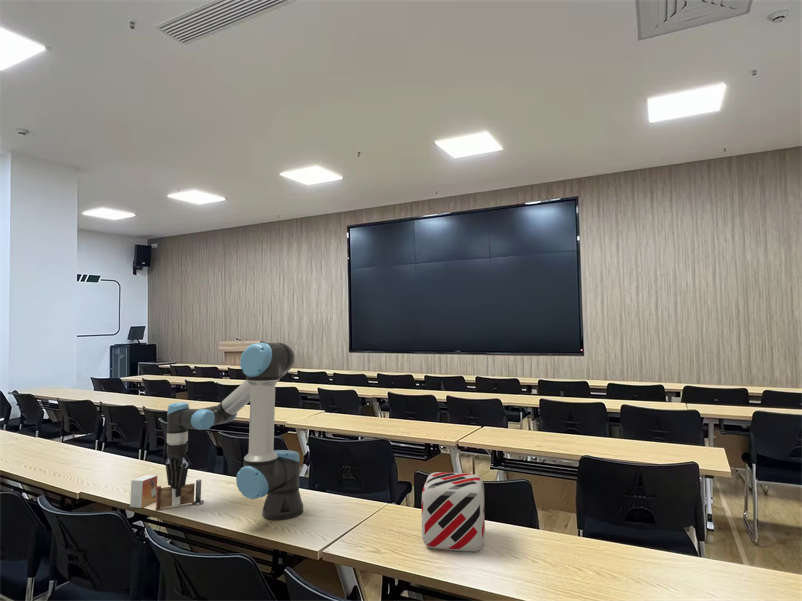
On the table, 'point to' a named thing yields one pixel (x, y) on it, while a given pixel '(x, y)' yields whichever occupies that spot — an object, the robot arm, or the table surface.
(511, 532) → the table surface
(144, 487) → the small box
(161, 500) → the gate
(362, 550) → the table surface
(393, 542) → the table surface
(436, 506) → the decorative cube
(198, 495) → the pivot post
